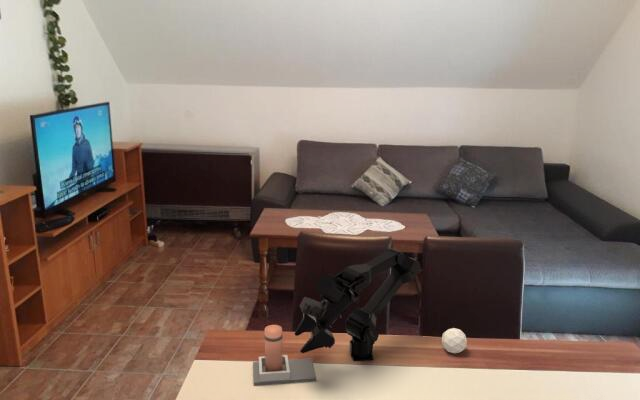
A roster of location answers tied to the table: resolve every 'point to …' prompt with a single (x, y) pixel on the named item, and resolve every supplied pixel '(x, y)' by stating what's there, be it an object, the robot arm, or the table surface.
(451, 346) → the geometric ball
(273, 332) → the banded pink rod
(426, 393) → the table surface
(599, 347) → the table surface
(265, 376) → the jig
